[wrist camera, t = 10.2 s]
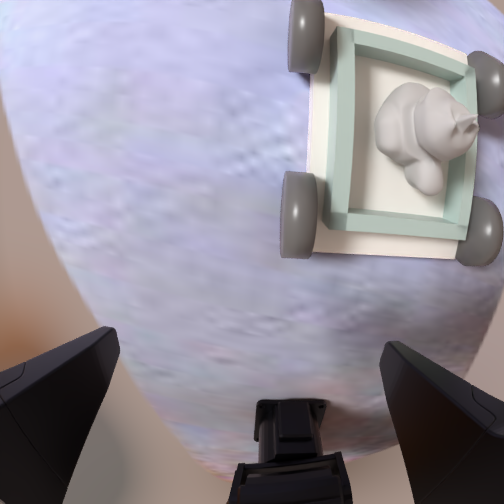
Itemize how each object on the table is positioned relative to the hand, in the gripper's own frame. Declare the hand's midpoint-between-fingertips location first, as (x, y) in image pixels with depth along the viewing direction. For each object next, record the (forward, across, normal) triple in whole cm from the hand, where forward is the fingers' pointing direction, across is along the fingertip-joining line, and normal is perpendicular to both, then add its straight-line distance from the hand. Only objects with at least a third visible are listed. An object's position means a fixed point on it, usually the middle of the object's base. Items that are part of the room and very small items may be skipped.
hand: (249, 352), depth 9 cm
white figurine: (+11, -9, -8) cm, 16 cm away
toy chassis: (+12, -9, -8) cm, 17 cm away
